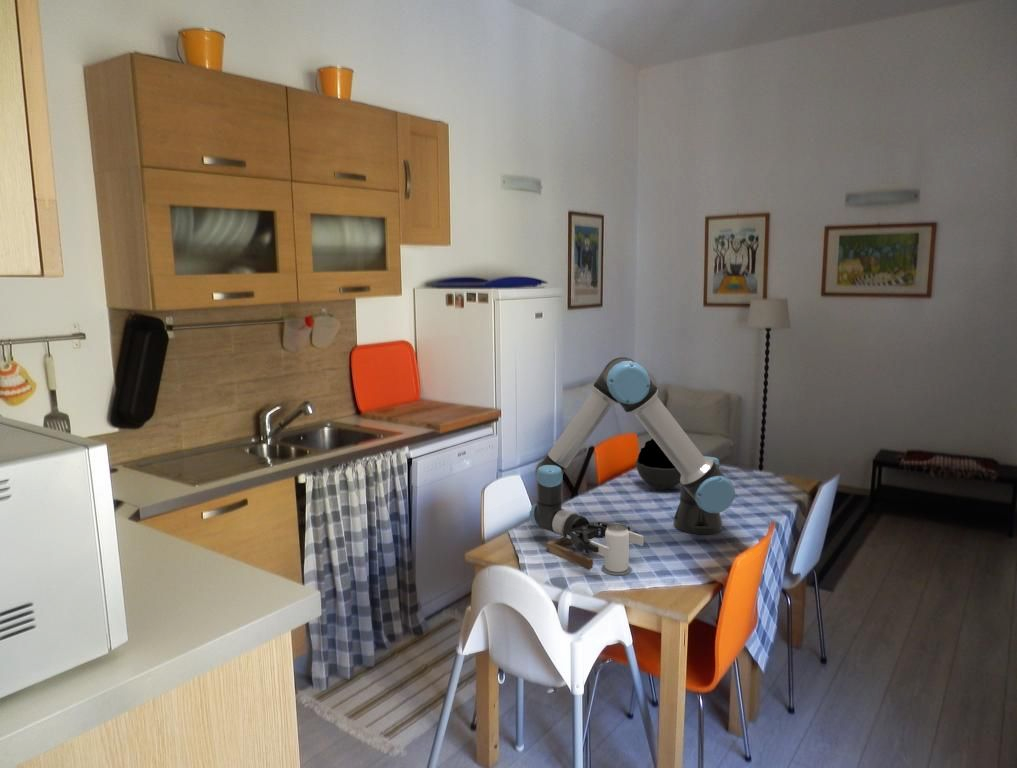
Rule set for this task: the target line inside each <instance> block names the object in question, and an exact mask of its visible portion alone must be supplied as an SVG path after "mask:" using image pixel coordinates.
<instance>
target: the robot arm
mask: <svg viewBox="0 0 1017 768" xmlns="http://www.w3.org/2000/svg"><path fill="white" fill-rule="evenodd" d="M658 393H659V389H658V387H657V386H656V384H655V383H654V382H653V380H652V379H651V378H650V375H649V374H648V372H647V371H646V369H645V368H644V367H643V366H642V365H640V364H639V363H637V362H636V361H634V360H633V359H631V358H628V357H625V356H623V357H622V356H619V357H616V358H613V359H612V360H610V361H609V362H608V363H607V364H606V365H605V366H604V368H603V369H602V370H601V372H600V373H599V376H598V377H597V379H596V380H595V382H594V383H593V385H592V392H591V393H590V394H589V396H588V397H587V398H586V400H585V401H584V403H583V404H582V405H581V407H580V408H579V410H578V411H577V412H576V414H575V415H574V417H573V418H572V420H571V421H570V422H569V423H568V425H567V426H566V427H565V429H564V431H563V432H562V433H561V435H560V436H559V438H557V440H556V442H555V443H554V445H553V446H551V449H550V450H549V451H548V453H547V454H546V456H545V457H544V458H543V459H542V460H541V461H539V462H538V463H537V465H536V467H535V479H536V499H537V500H536V502H534V503H533V505H532V506H531V508H530V511H529V520H530V522H531V523H532V524H533V525H535V526H537V527H539V528H540V529H543V530H546V531H550V532H551V533H554V534H556V535H559V536H562V538H563V537H564V538H565V537H566V538H567V540H568V541H570V542H571V543H572V544H573V545H572V546H573V547H574V548H575V549H576V550H577V551H578V553H582V552H583V551H584V554H587V555H588V554H590V552H591V553H594V554H597V555H599V556H602V557H604V558H605V557H606V558H609V557H610V548H609V547H607V546H605V544H602V543H599V542H596V541H594V540H592V539H603V538H605V532H606V529H607V525H609V524H610V523H606V522H602V521H598V522H597V524H594V523H591V522H589V520H588V519H587V518H586V517H585V516H584V515H583V516H582V515H580V514H576V513H574V512H572V511H569V510H566V509H563V507H562V505H563V503H562V502H563V501H562V500H563V499H562V497H563V496H562V494H563V492H562V491H563V474H564V472H565V471H566V470H567V468H568V467H569V466H570V464H571V463H572V462H573V460H574V459H575V457H576V456H577V455H578V453H579V452H580V451H581V449H582V447H583V446H584V445H585V443H586V442H587V441H588V439H589V438H590V437H591V435H592V434H593V432H594V431H595V430H596V428H597V427H598V426H599V424H600V423H601V422H602V420H603V419H604V417H605V416H606V415H607V413H608V412H609V410H610V409H611V408H612V406H613V405H617V404H619V406H620V407H621V408H622V409H623V410H624V412H625V413H627V414H632V415H634V416H635V417H636V419H637V420H638V421H639V423H640V424H641V425H642V426H643V427H644V429H645V430H646V432H647V433H648V434H649V435H650V437H651V439H654V441H655V442H656V443H657V444H658V446H659V447H660V448H661V449H662V451H663V452H664V453H665V455H666V456H667V457H668V458H669V460H670V461H671V462H672V464H673V465H674V466H675V467H676V469H677V470H678V471H679V473H680V474H681V478H680V482H681V483H680V494H679V495H680V496H679V498H680V499H679V504H678V506H677V509H676V511H675V515H674V517H673V526H674V527H675V528H676V529H677V530H679V531H681V532H684V533H689V534H695V535H712V534H717V533H719V532H721V531H722V530H723V520H722V517H721V513H722V512H725V511H726V510H728V509H729V508H730V507H731V505H732V504H733V502H734V500H735V496H736V491H735V487H734V485H733V482H732V481H731V480H730V479H729V478H728V477H727V476H725V474H724V473H723V472H722V470H721V468H720V461H719V458H717V457H714V456H713V457H712V456H706V455H703V454H702V452H700V450H699V449H698V448H697V446H696V445H695V444H694V442H693V441H692V440H691V438H690V437H689V436H688V434H687V433H686V432H685V430H683V428H682V427H681V425H680V424H679V423H678V422H677V420H676V419H675V418H674V416H673V415H672V413H670V411H669V409H668V408H666V406H665V404H664V403H663V402H662V401H661V399H660V398H659V397H658ZM626 526H627V527H628V528H627V529H628V531H629V543H631V544H635V545H637V546H639V547H643V546H644V535H641V534H639V533H636V532H634V531H631V528H630V527H631V526H629V525H626ZM589 540H591V541H590V543H589Z"/></svg>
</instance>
